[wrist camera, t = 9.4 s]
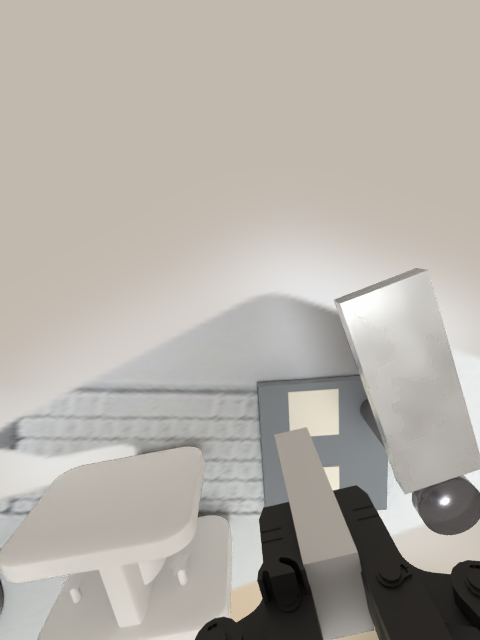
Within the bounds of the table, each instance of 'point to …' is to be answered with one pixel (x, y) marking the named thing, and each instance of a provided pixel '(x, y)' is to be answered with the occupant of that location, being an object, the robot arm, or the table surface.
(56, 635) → the cable organizer
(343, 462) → the label board
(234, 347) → the table surface
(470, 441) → the grey lever handle
